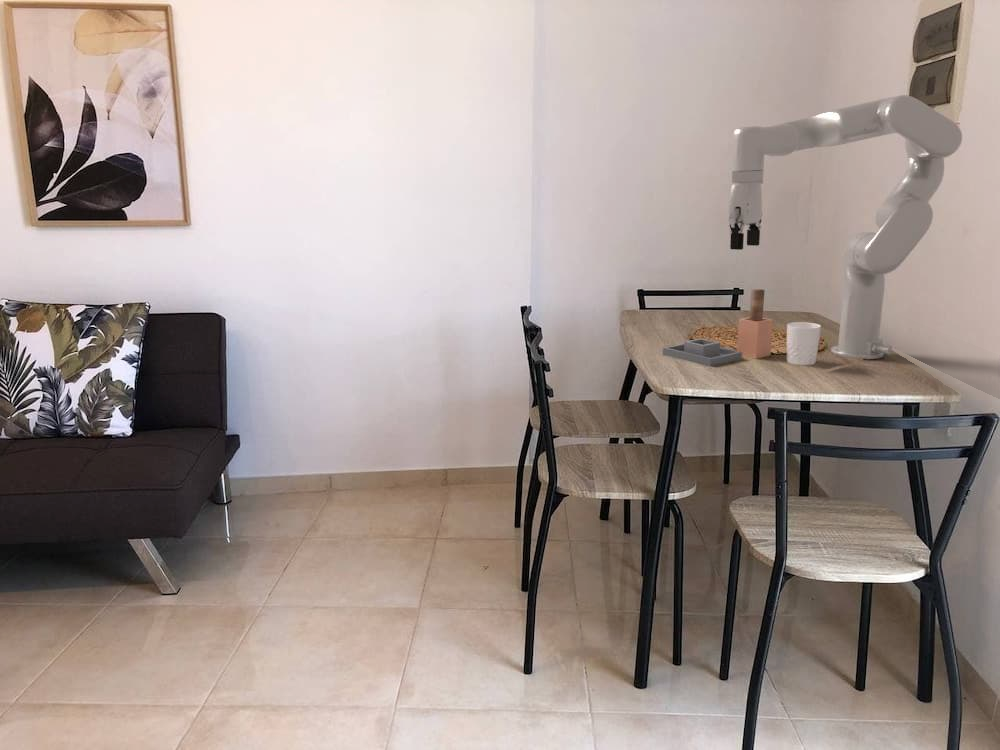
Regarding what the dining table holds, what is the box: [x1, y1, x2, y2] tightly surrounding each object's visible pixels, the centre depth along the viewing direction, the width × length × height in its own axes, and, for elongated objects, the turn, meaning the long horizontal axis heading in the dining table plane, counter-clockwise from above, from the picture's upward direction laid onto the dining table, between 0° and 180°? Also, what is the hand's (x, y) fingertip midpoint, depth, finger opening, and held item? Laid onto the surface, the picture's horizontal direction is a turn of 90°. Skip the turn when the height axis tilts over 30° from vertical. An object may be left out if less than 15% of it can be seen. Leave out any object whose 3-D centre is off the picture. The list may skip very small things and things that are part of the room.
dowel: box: [749, 288, 766, 322], centre depth 203 cm, size 3×3×17 cm
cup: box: [736, 316, 774, 359], centre depth 204 cm, size 6×6×10 cm
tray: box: [662, 337, 743, 367], centre depth 203 cm, size 16×12×4 cm
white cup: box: [785, 321, 822, 366], centre depth 196 cm, size 8×8×10 cm
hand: (744, 247), depth 200 cm, fingers open, 9 cm apart
